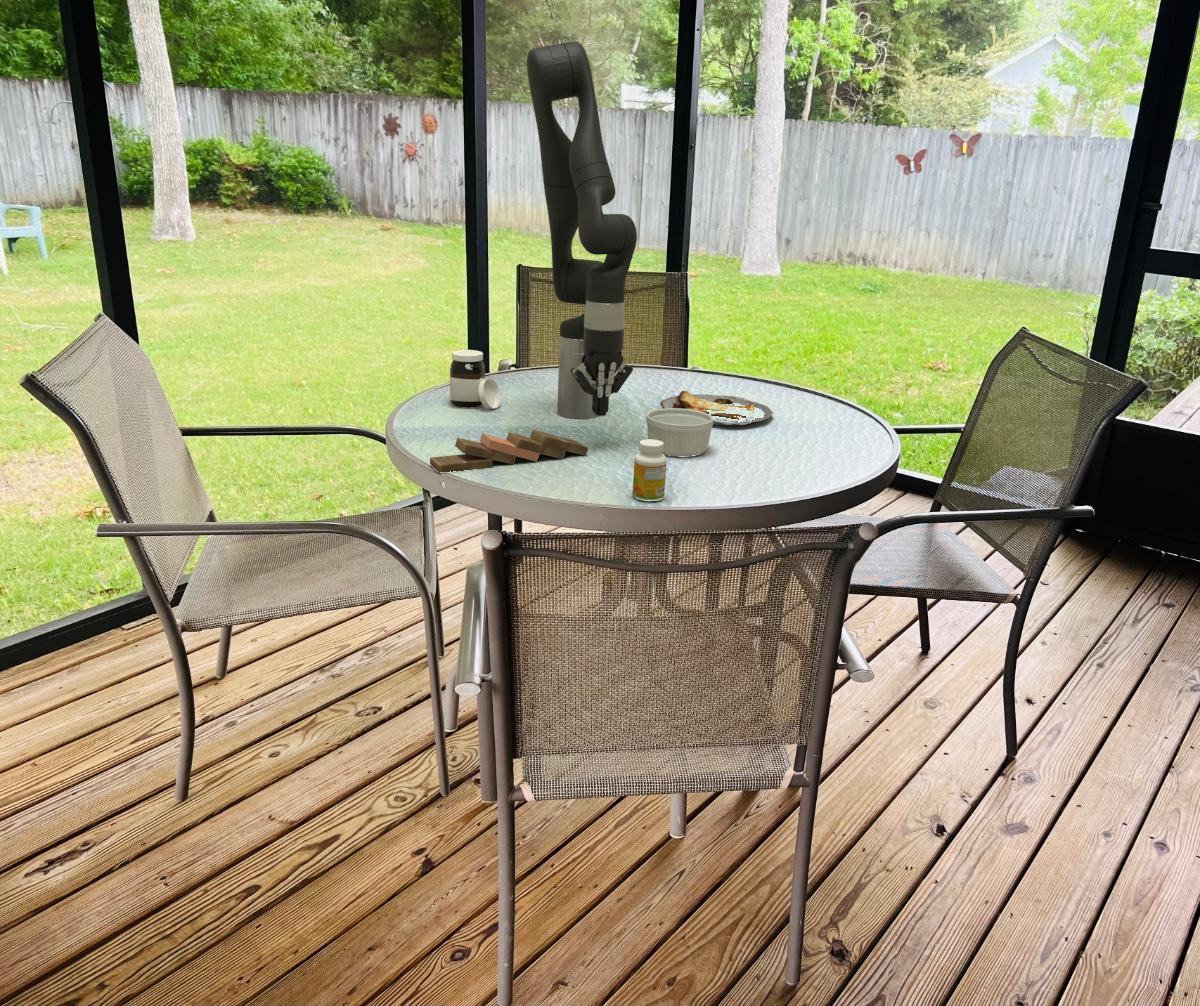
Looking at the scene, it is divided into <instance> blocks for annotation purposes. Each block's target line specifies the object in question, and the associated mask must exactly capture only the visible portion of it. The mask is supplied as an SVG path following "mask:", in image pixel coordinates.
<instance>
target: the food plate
mask: <svg viewBox="0 0 1200 1006" xmlns="http://www.w3.org/2000/svg"><path fill="white" fill-rule="evenodd" d="M733 403H739V404H741V405H745V406H734V404H733ZM659 404H660V406H661V409H666V408H680V409H690V410H696V411H701V412H704V413H707V414H709V412H707V411H705V410H712V411H726V410H725V409H728V407H738V408H747V409H746V410H748V411H751V412H752V413H754V412H753V411H754V407H756V408H759V409H761V410H762V411H763V412H764V413H765V414H764V417H763V418H757V419H756V418H755V420H752V419H751V420H752V421H751V420H748V421H746V422H740V423H738V422H731V421H728V422H727V421H718V420H716V421H715V420H713V424H714V425H713V426H716V425H715V424H722V425H721V426H739V425H741V426H743V425H744V426H746V425H748V424H751V423H756V422H763V421H764V420H767V419H769V418H771V417H772V415H773V414H774V411H772V409H771V407H768V405H764V404H762V403H760V402H756V401H752V400H749V399H747V398H744V397H737V396H734V395H719V394H718V395H717V394H700V393H699V394H697V393H696V394H694V393H693V394H691V392H689V391H687V390H682V391H680V393H679V394H678V395H676V396H675V395H674V396H670V397H668V398H665V399H663V400H662V401H660V403H659ZM723 404H724V405H723ZM726 404H728V405H726ZM730 404H733V405H730ZM729 410H730V409H729ZM750 414H751V413H750ZM711 416H719V417H726V418H731V419H738V420H739V418H738V417H737V416H739V417H740V416H741V417H742V418H746V416H742V415H739V414H726V413H715V414H711ZM734 416H736V417H734ZM750 421H751V422H750ZM733 424H734V425H733ZM735 424H736V425H735ZM737 424H738V425H737Z"/></svg>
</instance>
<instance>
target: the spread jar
mask: <svg viewBox="0 0 1200 1006" xmlns="http://www.w3.org/2000/svg"><path fill="white" fill-rule="evenodd" d="M451 359H452V361H451V363H450V368H449V392H450V394H449V396H450V398H449V399H450V403H451V405H453V406H454V407H457V408H462V407H467V408H466V409H471V408H470V407H474V408H480V407H481V406H483V407H484V408H485V409H486V410H490V409H491V410H494V409H498V407H499V406H500V403H501V396H502V395H501V392H500V388H499V385H498V383H497V382H496V381H495V380H494V379H493V378H491V377H490V378H489V377H488V378H486V368H485V367H486V366H485V364H484V353H483V351H479V350H477V349H476V350H475V349H474V350H473V349H459V350H453V351H452V353H451ZM479 406H480V407H479ZM491 410H490V411H491Z"/></svg>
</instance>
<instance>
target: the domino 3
mask: <svg viewBox="0 0 1200 1006" xmlns="http://www.w3.org/2000/svg"><path fill="white" fill-rule="evenodd" d="M479 443H482V444H483V445H485V446H486V447H487V448H488V449H492V450H496V451H499V452H503V453H507V454H510V455H514V456H516V457H519V458H521V459H522V458H523V459H526V460H530V461H533V462H537V463H538V459H539V457H540V453H537V452H533V451H529V450H525V449H521V448H517V447H516V446H514V445H513V444H511V443H510V442H508V441H507V440H506V439H504V438H501V437H498V436H494V435H490V434H487V433H483V432H482V434H481V436H480V439H479Z"/></svg>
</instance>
